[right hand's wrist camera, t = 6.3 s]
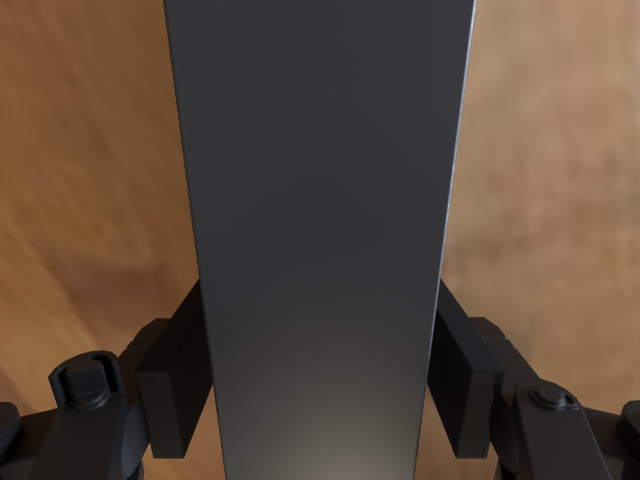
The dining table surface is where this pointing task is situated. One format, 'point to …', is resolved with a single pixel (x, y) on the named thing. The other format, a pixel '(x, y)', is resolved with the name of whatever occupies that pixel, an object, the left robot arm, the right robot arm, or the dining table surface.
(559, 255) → the dining table surface
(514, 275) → the dining table surface
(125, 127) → the dining table surface
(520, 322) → the dining table surface
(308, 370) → the beam
